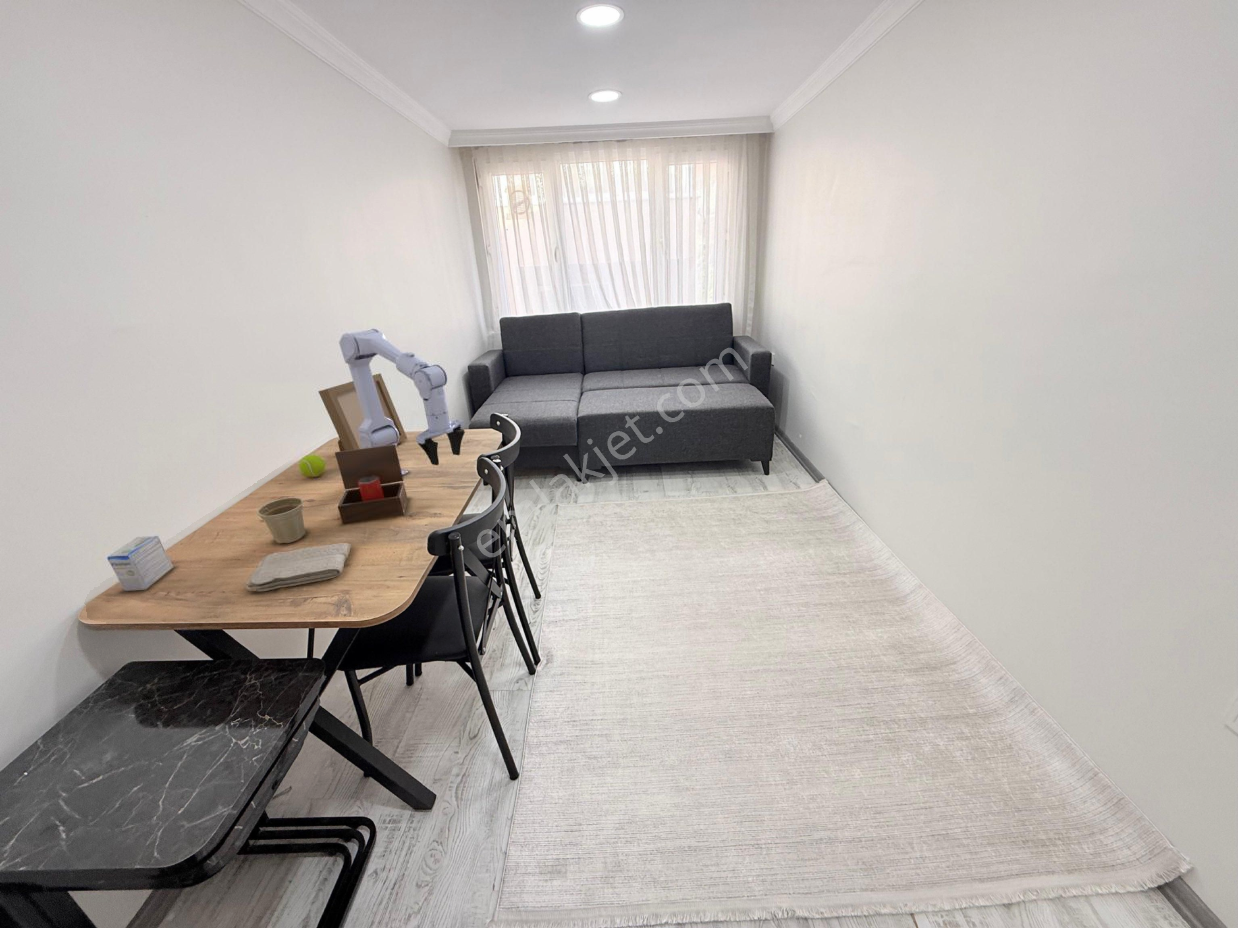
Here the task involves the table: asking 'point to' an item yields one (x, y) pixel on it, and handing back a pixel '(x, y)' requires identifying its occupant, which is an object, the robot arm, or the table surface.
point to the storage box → (373, 504)
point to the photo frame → (356, 412)
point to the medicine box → (140, 563)
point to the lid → (369, 465)
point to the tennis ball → (312, 465)
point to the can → (370, 488)
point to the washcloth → (299, 567)
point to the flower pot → (284, 519)
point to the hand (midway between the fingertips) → (446, 459)
